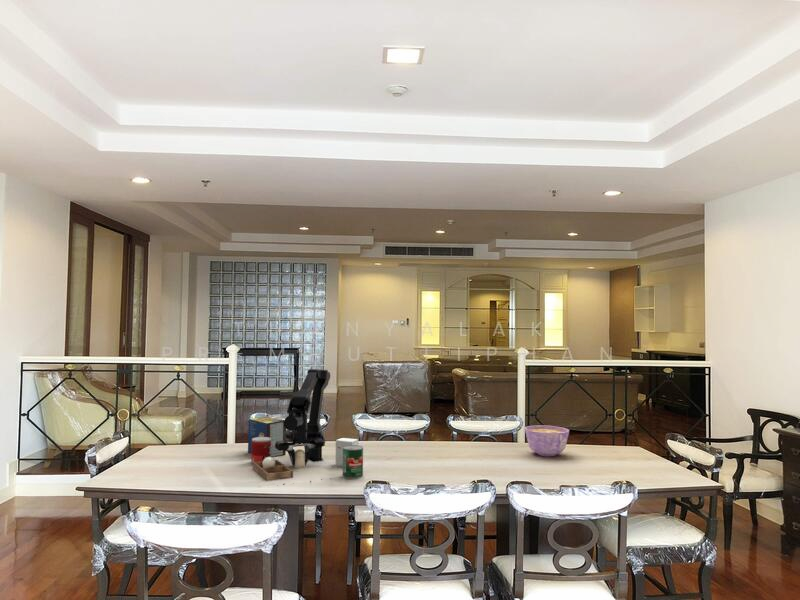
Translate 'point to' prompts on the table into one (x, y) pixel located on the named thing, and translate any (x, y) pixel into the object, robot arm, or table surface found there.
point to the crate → (273, 471)
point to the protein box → (267, 432)
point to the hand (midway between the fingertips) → (299, 465)
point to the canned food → (260, 449)
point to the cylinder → (299, 459)
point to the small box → (339, 448)
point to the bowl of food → (546, 439)
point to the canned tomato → (352, 461)
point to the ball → (268, 462)
